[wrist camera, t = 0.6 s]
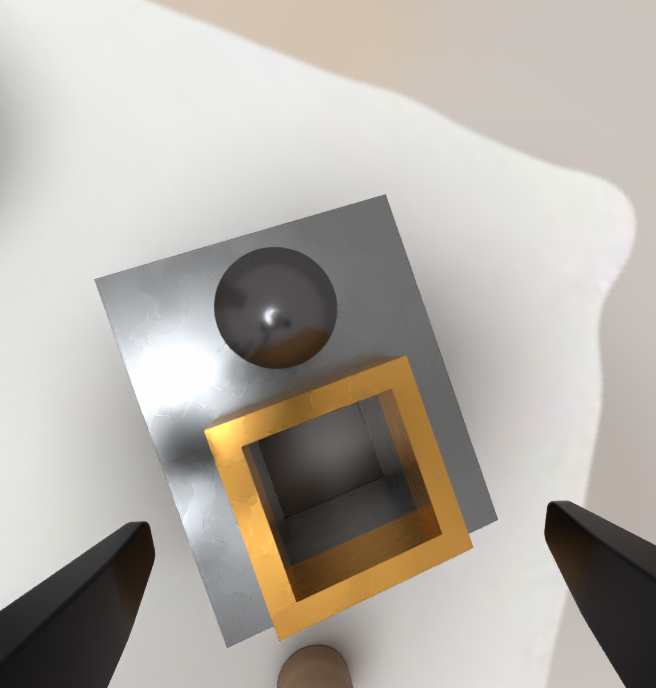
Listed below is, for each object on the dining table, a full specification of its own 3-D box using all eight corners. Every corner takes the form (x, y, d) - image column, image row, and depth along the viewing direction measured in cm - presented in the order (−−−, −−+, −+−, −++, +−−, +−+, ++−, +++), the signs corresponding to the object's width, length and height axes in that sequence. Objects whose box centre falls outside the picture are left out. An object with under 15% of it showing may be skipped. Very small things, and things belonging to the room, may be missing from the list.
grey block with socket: (447, 485, 23) (535, 545, 16) (235, 579, 21) (220, 700, 13) (359, 230, 23) (405, 167, 15) (134, 298, 21) (62, 264, 13)
